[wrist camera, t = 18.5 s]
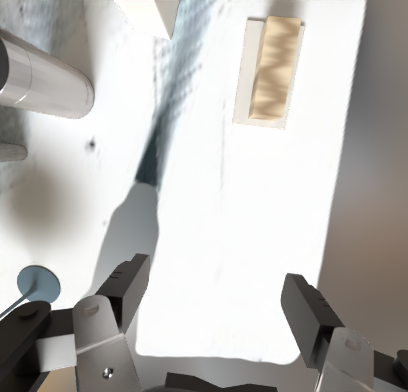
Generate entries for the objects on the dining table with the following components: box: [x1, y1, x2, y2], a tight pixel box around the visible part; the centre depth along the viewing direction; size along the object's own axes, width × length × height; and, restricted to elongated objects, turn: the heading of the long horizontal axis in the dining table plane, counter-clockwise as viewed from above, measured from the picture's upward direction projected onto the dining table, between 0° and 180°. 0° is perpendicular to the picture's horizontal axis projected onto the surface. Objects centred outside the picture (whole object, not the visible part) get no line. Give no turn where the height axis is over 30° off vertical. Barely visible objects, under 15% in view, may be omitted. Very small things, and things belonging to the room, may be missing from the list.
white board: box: [232, 20, 305, 130], centre depth 38 cm, size 10×17×1 cm, turn 174°
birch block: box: [248, 16, 301, 121], centre depth 35 cm, size 5×5×14 cm
